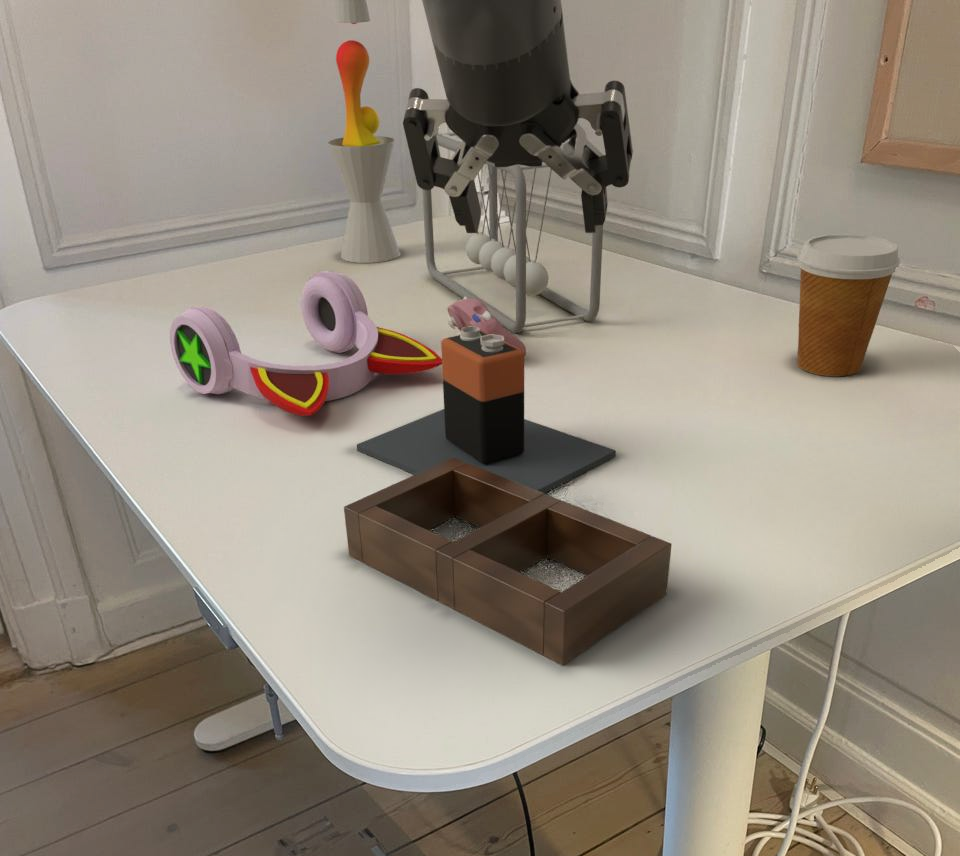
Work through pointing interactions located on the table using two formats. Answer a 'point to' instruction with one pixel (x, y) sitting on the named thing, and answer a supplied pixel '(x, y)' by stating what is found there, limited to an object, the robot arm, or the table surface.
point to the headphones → (298, 389)
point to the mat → (537, 467)
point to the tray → (509, 556)
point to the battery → (483, 394)
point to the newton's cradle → (510, 250)
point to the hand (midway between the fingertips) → (533, 223)
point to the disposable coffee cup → (841, 299)
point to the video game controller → (479, 320)
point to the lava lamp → (361, 152)
